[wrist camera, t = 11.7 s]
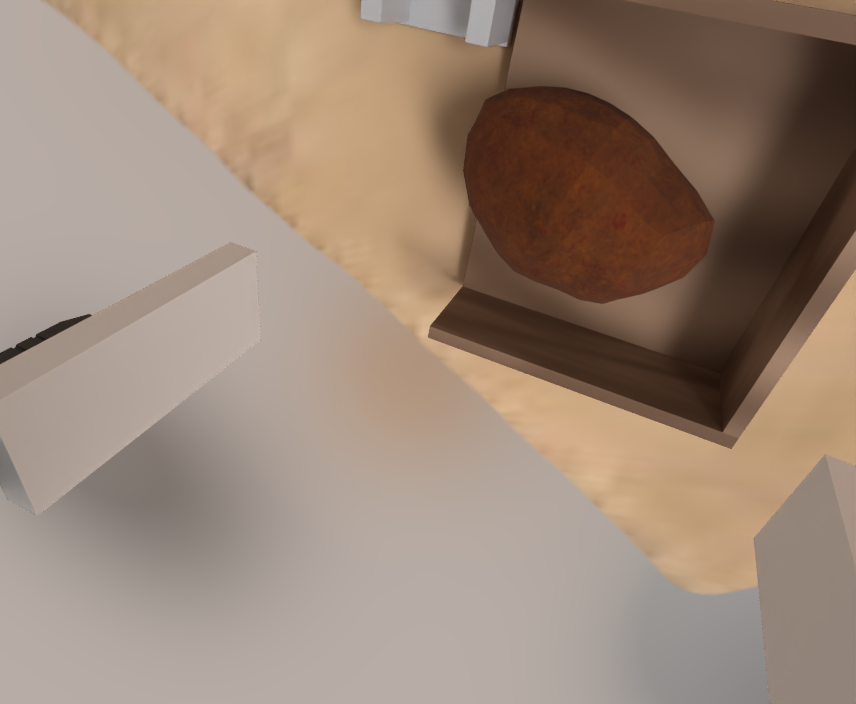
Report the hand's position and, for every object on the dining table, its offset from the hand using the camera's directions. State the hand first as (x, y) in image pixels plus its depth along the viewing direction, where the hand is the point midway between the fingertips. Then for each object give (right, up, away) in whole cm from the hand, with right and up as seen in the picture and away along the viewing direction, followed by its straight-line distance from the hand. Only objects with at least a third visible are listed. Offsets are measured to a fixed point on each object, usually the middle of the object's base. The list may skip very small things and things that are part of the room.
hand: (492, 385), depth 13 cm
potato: (+6, +9, +14) cm, 18 cm away
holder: (+9, +9, +14) cm, 19 cm away
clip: (0, +17, +13) cm, 22 cm away
